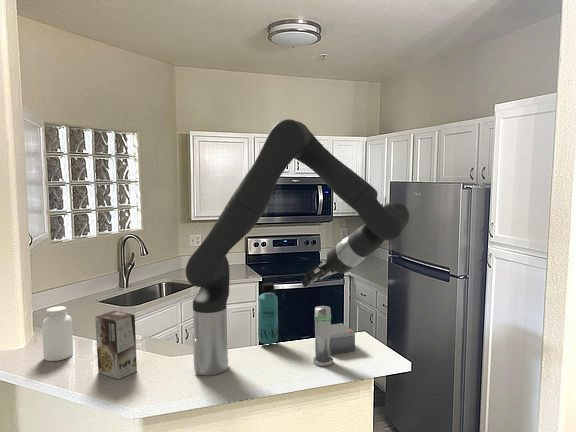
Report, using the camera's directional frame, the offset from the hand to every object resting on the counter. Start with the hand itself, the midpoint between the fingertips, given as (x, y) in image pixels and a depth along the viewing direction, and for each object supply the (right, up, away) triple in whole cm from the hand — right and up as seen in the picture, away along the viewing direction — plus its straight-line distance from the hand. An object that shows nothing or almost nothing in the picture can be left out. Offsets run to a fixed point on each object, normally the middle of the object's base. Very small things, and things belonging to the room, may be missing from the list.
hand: (313, 280), depth 121 cm
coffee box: (-55, -25, -5) cm, 60 cm away
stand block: (+8, -23, +10) cm, 26 cm away
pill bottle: (-77, -25, +7) cm, 82 cm away
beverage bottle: (-14, -23, +14) cm, 30 cm away
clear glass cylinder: (+3, -24, -1) cm, 24 cm away
